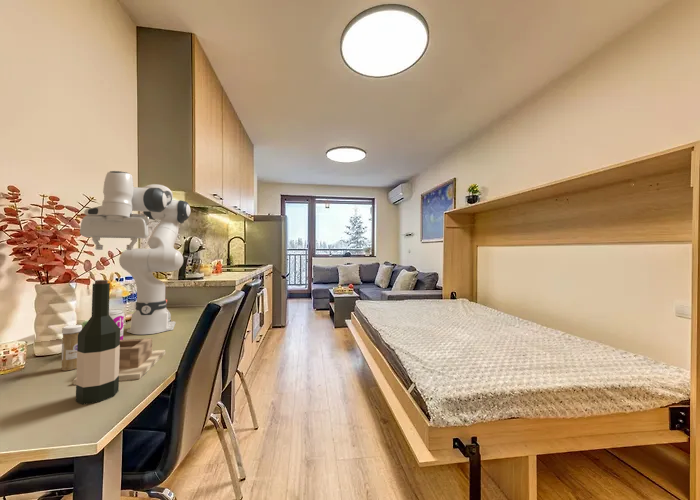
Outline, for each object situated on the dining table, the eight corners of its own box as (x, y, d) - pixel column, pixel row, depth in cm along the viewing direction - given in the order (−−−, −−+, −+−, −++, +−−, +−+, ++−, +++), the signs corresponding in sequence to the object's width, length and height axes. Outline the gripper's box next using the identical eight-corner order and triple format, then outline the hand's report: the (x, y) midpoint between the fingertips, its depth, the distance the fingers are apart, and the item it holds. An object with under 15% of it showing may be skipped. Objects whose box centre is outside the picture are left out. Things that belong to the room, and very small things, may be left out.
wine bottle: (120, 396, 74) (123, 280, 75) (75, 408, 68) (79, 282, 69) (116, 385, 80) (119, 278, 81) (75, 395, 74) (79, 280, 75)
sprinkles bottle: (73, 370, 90) (74, 327, 90) (56, 371, 89) (58, 327, 89) (84, 365, 94) (85, 324, 94) (69, 365, 93) (70, 324, 94)
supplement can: (128, 348, 111) (129, 309, 112) (108, 355, 103) (109, 313, 103) (109, 347, 112) (110, 308, 112) (88, 354, 104) (89, 312, 104)
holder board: (113, 357, 101) (114, 336, 101) (165, 353, 106) (165, 333, 106) (73, 384, 80) (74, 357, 80) (139, 379, 85) (140, 353, 85)
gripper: (152, 216, 113) (150, 251, 111) (89, 213, 107) (86, 250, 106) (146, 212, 107) (144, 248, 105) (78, 209, 101) (75, 248, 100)
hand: (114, 249), depth 105 cm, fingers open, 8 cm apart
